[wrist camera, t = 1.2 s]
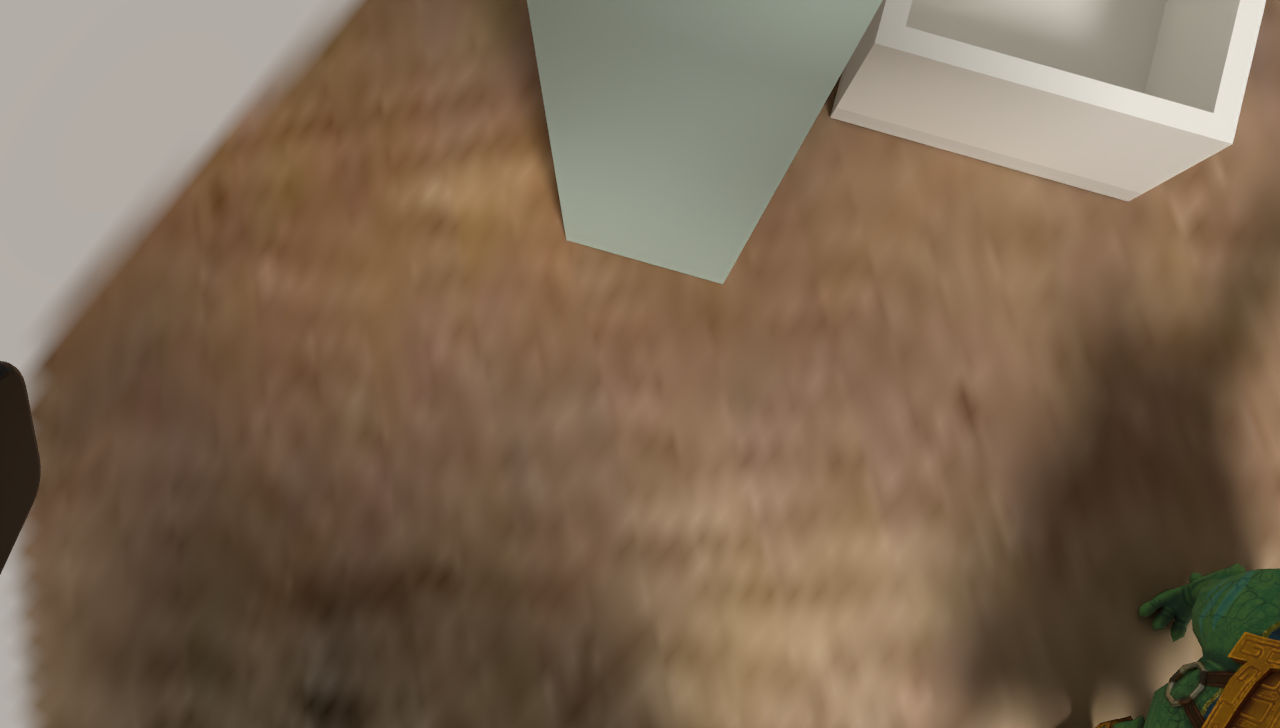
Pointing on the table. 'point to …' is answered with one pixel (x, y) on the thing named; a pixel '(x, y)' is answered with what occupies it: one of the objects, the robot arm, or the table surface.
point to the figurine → (1220, 653)
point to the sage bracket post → (683, 115)
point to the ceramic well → (1058, 83)
